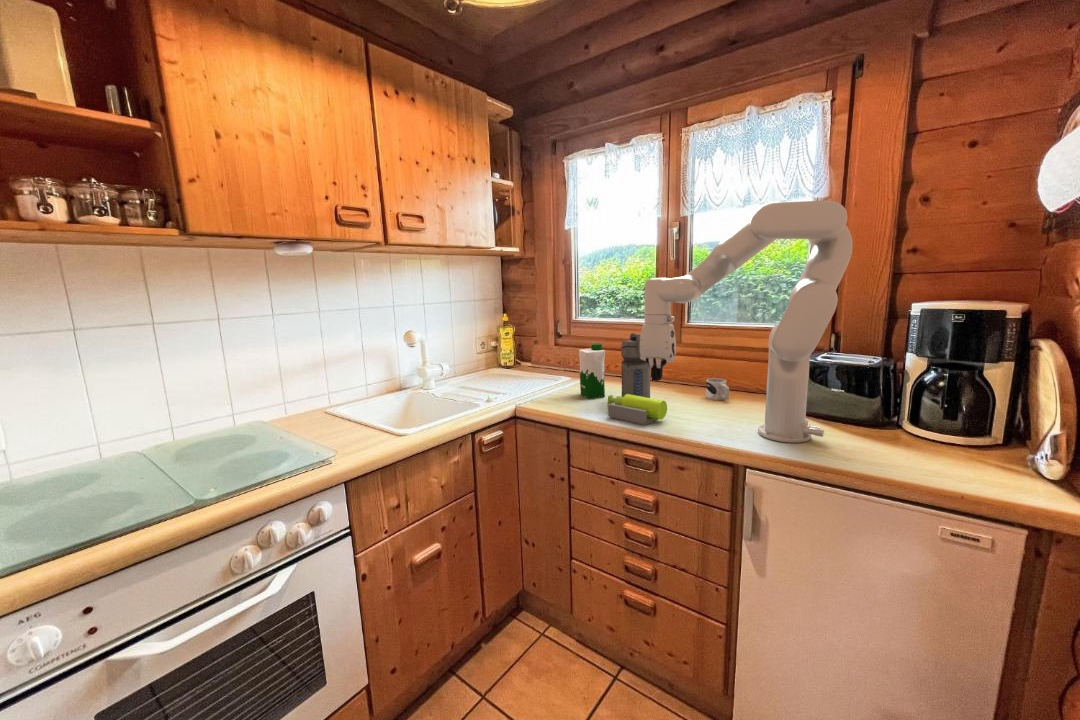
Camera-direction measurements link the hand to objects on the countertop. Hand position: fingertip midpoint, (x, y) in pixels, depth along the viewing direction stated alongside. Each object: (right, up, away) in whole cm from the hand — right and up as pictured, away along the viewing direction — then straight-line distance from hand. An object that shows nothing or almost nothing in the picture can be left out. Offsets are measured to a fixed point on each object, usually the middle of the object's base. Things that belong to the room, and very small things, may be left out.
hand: (656, 379), depth 130 cm
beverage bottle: (-1, -9, +26) cm, 27 cm away
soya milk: (-15, -8, +35) cm, 39 cm away
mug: (+29, -8, +24) cm, 38 cm away
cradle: (-5, -12, +7) cm, 15 cm away
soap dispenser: (+2, -10, 0) cm, 10 cm away
